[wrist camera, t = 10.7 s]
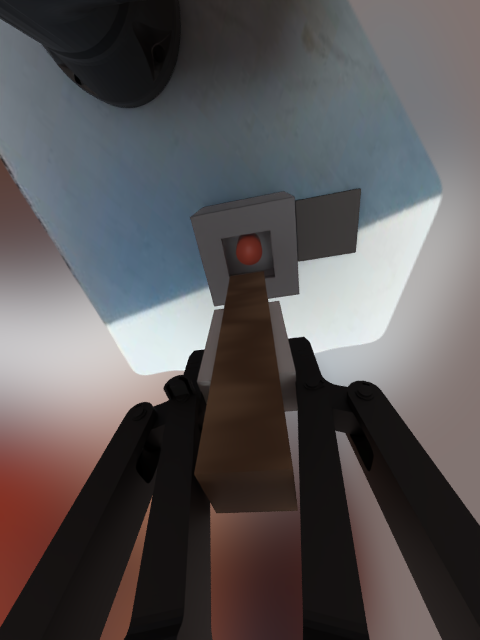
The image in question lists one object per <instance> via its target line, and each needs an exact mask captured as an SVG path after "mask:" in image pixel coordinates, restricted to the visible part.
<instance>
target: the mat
mask: <svg viewBox="0 0 480 640" xmlns="http://www.w3.org/2000/svg"><path fill="white" fill-rule="evenodd" d="M360 196H361V189H360V188H359V189H354V190H349V191H343V192H338V193H333V194H328V195H322V196H317V197H312V198H307V199H302V200H296V201H295V211H296V232H297V252H298V262H299V261H305V260H312V259H318V258H324V257H330V256H336V255H343V254H349V253H355V252H356V244H357V232H358V220H359V208H360Z"/></svg>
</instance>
